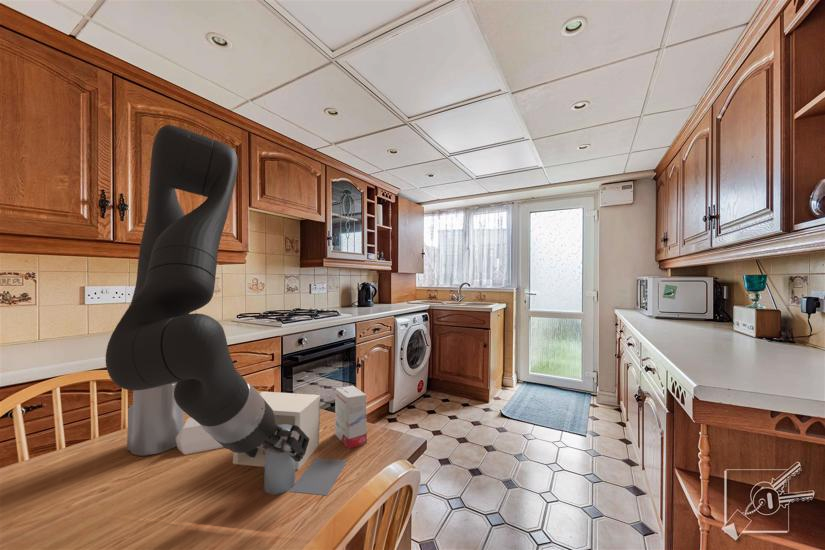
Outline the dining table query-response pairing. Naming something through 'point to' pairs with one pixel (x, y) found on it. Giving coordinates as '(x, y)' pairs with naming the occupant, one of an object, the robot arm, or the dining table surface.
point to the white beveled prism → (195, 438)
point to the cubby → (290, 422)
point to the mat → (319, 477)
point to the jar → (279, 470)
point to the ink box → (350, 416)
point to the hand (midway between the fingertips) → (277, 453)
